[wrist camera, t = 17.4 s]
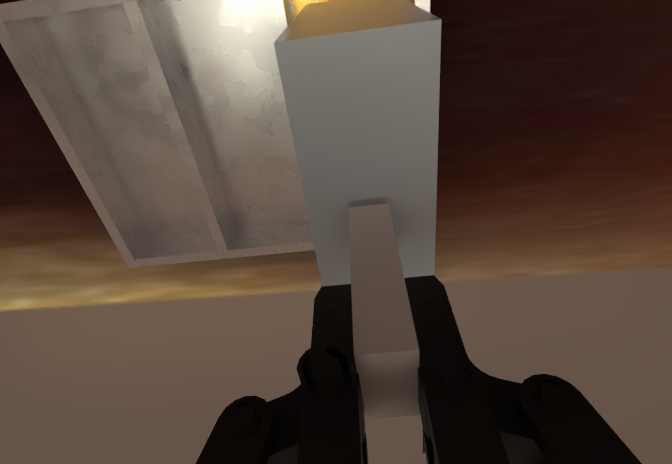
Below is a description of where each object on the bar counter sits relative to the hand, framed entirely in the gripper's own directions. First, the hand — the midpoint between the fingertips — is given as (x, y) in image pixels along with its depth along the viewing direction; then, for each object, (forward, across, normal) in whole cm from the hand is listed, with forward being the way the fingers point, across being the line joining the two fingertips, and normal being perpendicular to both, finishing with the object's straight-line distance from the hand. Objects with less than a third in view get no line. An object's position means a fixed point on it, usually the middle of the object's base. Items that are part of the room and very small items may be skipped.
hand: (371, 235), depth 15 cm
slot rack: (+15, -8, 0) cm, 17 cm away
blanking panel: (+15, 0, 0) cm, 15 cm away
